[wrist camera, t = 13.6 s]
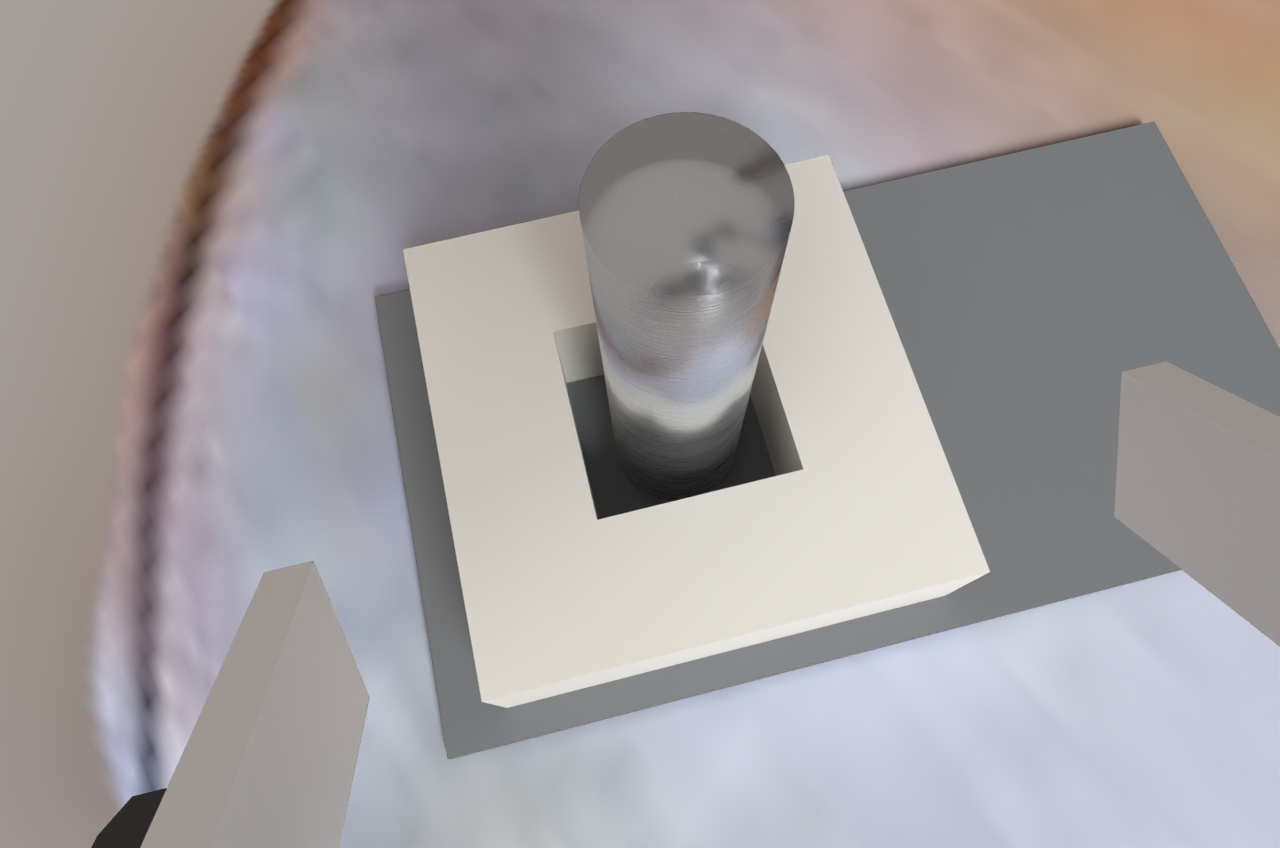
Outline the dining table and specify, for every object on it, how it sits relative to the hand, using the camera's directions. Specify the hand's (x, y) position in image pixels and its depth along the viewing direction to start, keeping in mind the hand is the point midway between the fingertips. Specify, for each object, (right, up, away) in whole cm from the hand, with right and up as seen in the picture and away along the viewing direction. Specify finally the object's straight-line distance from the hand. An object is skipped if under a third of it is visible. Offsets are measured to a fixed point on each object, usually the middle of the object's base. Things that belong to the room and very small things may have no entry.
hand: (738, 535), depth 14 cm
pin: (0, +1, +15) cm, 15 cm away
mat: (+5, +2, +16) cm, 17 cm away
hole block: (0, +1, +15) cm, 15 cm away
